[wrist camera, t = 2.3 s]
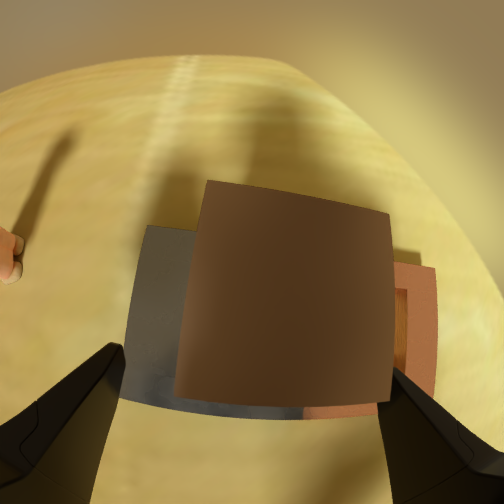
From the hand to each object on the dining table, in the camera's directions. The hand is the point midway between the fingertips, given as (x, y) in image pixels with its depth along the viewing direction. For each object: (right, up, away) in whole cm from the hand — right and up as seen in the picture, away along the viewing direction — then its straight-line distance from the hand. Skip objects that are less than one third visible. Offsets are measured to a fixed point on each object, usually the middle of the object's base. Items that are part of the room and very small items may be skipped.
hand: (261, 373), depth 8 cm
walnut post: (-1, -1, +9) cm, 10 cm away
